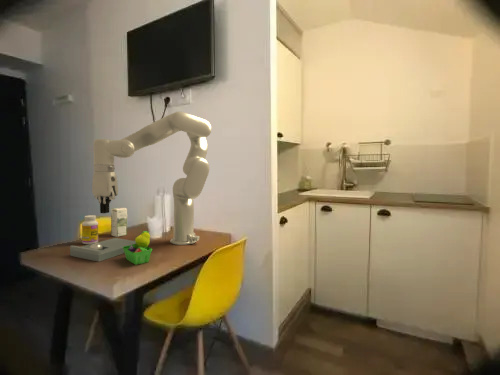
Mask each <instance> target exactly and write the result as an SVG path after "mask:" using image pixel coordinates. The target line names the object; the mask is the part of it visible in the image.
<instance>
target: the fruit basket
mask: <svg viewBox="0 0 500 375" xmlns="http://www.w3.org/2000/svg"><path fill="white" fill-rule="evenodd" d="M150 239H151V235H150V232H149V231H147V230H144V231H142V232H141V233H140V235H138V236H137V237H135V239H134V241H136V244H132V245H129V246H124V247H123V250H124V252H125V253H124V255H125V259H126V260H127V261H129V262H130V263H132V264H133V265H135V266H137V265H142V264H146V263H149V262H150V261H149V260H150V258H151V253H152V251H153V248H151V247H149V245H150V241H151V240H150Z"/></svg>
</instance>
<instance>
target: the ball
mask: <svg viewBox="0 0 500 375" xmlns="http://www.w3.org/2000/svg"><path fill="white" fill-rule="evenodd" d="M90 249H94V250H103V247H102V245H101V244H99V243H94V244H92V245H91V246H90Z"/></svg>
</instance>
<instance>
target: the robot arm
mask: <svg viewBox="0 0 500 375" xmlns="http://www.w3.org/2000/svg"><path fill="white" fill-rule="evenodd" d="M177 132H185V133H186V135H187V137H188V138H189V141H190V148H189V151H188V153H187V156H186V159H185V161H184V163H183V166H182V171H183V173H184V175H185V176H186V177H180V178H177V179H176V180H175V181H174V183H173V185H172V196H173V197H172V198H173V237H171V239H170V243H171V244H173V245H176V246H177V245H179V246H181V245H184V246H187V245H192V244H195V243H197V241H199V240H200V235H196V232H194V221H195V217H194V214H195V213H194V212H195V211H194V210H195V203H194V200H195V199H197V198H198V197H199V196H201V195H200V194H201V193H202V191H203V189H204V187H205V184H206V181H207V179H208V176H209V173H210V164H209V162H208V160H206V156H207V154H208V149H209V148H208V147H209V145H208V141H207V137H208V136H210V135H211V133H212V125H211V123H210V122H209V121H208V120H207V119H204V118H201V117H198V116H196V115H193V114H189V113H187V112H184V111H175V112H173V113H169V115H165V116H164V117H162V118H160V119H158V120H156V121H154V122H152V123H149V124H147V125H146V126H144V127H142V128H141V129H139V130H137V131H135V132H133V133H132V134H129V135H128V136H125V137H123V138H122V139H116V140H115V139H113V140H111V139H107V138H106V139H105V138H96V139H94V140H93V175H92V185H91V187H92V188H91V189H92V190H91V191H92V195H93V198H94V199H96V200H98V204H99V211H100V212H99V213H100V214H108V213H110V204H111V202H112V201H114V200H115V199H116V197H117V196H118V195H119V187H118V176H117V173H116V172H115V157H116V158H120V159H125V158H131V157H132V156H133V155H134V153H135V152H136V151H139V150H140V149H143V148H145V147H149V146H152V145H155V144H157V143H159V142H161V141H163V140H164V139H167V138H169V137H170V136H172V135H174V134H176V133H177Z"/></svg>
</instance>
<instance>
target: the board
mask: <svg viewBox="0 0 500 375" xmlns="http://www.w3.org/2000/svg"><path fill="white" fill-rule="evenodd" d="M97 243H99V244H101V245H102V247H103V250H94V249H90V246H91V245H92V244H85V245H82V246H77V245H70V246H69V247H70V248H69V249H70V250H69V252H70V254H69V255H70V257H76V258H78V259H79V258H80V259H83V260H84V259H85V260H89V261H94V262H102V261H106V260H108V259H111V258H114V257H116V256H119V255H123V254H125V252H124V250H123V247H124V246H129V245H132V244H136V241H135V240H130V239H124V238H119V237H113V238H109V239H105V240H102V241H98V242H97Z"/></svg>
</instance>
